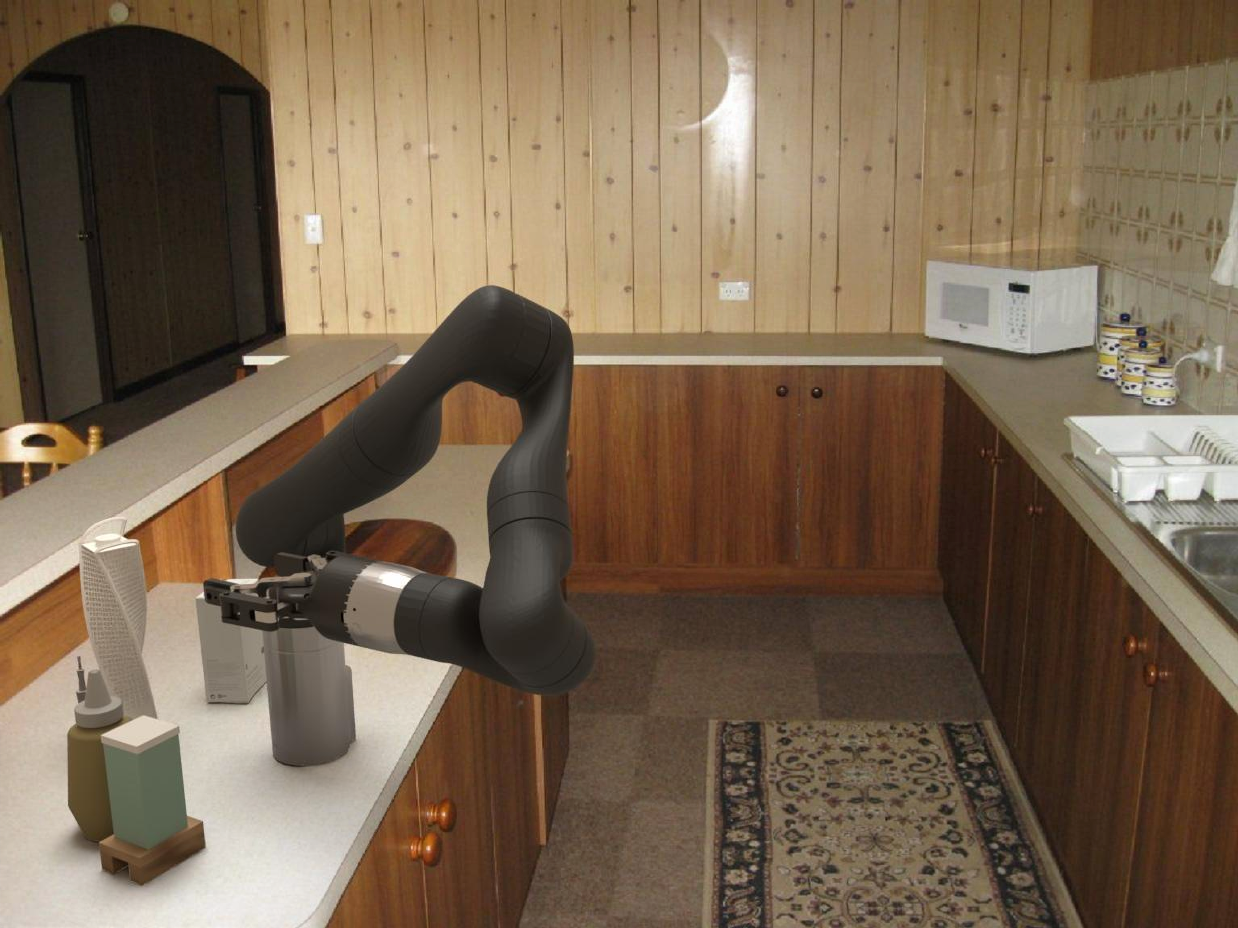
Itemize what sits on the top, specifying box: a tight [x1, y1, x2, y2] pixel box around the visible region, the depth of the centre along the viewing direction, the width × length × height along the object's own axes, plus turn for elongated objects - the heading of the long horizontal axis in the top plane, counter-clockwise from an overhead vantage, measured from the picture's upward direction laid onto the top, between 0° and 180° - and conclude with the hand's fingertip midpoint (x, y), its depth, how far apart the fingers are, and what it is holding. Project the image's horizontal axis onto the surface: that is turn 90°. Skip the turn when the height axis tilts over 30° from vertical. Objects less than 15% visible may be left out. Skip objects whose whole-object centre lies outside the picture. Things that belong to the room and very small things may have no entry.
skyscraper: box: [75, 516, 159, 720], centre depth 150 cm, size 8×8×28 cm
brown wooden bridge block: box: [98, 815, 207, 886], centre depth 127 cm, size 8×6×3 cm
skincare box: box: [195, 578, 267, 704], centre depth 165 cm, size 8×6×15 cm
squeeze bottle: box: [66, 669, 132, 842], centre depth 131 cm, size 8×8×18 cm
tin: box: [101, 715, 188, 850], centre depth 125 cm, size 5×5×11 cm
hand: (242, 576), depth 114 cm, fingers open, 8 cm apart
